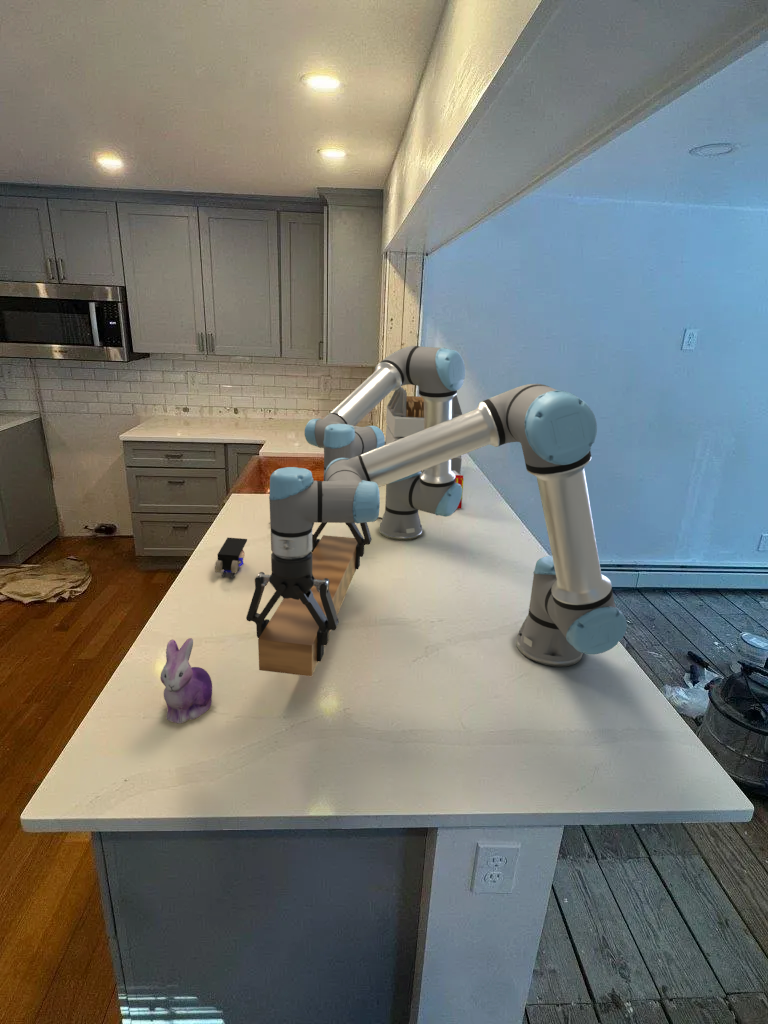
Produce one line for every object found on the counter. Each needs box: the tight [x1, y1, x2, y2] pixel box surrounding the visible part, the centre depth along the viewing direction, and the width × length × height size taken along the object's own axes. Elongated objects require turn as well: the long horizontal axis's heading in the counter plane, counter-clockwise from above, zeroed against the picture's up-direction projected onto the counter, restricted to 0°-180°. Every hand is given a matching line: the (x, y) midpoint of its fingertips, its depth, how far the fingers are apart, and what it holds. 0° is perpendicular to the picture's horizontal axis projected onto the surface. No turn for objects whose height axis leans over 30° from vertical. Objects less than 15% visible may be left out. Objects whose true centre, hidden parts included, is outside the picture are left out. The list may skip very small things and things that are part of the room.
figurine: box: [159, 637, 213, 724], centre depth 107 cm, size 9×10×15 cm
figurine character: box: [214, 537, 248, 578], centre depth 166 cm, size 7×8×15 cm
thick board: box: [257, 534, 357, 677], centre depth 131 cm, size 53×10×7 cm, turn 173°
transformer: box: [384, 386, 463, 475], centre depth 268 cm, size 34×33×41 cm
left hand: (337, 565), depth 151 cm, fingers closed on thick board, 10 cm apart
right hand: (293, 654), depth 112 cm, fingers closed on thick board, 10 cm apart
